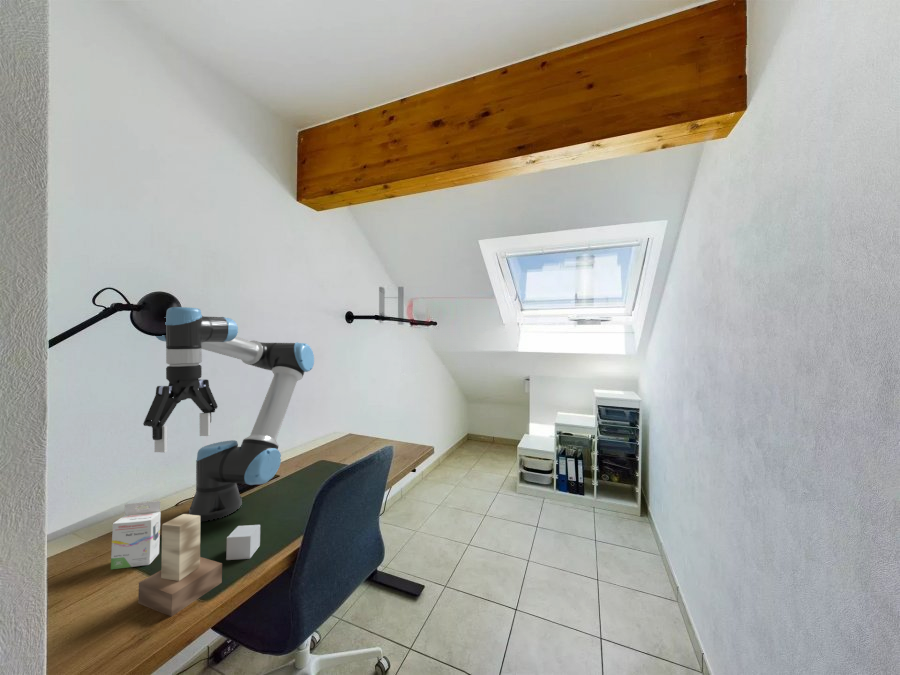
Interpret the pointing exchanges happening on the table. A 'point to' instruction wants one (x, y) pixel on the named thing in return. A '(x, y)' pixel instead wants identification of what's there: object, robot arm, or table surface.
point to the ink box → (136, 536)
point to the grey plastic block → (243, 542)
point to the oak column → (180, 547)
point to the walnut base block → (179, 588)
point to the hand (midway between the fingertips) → (184, 443)
